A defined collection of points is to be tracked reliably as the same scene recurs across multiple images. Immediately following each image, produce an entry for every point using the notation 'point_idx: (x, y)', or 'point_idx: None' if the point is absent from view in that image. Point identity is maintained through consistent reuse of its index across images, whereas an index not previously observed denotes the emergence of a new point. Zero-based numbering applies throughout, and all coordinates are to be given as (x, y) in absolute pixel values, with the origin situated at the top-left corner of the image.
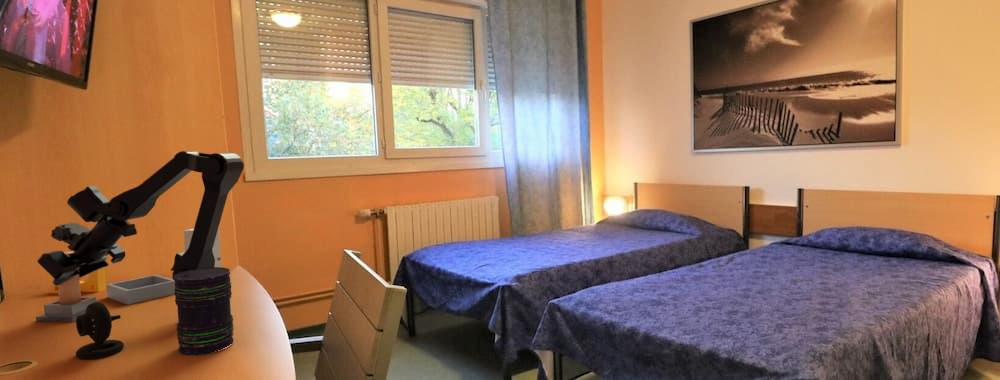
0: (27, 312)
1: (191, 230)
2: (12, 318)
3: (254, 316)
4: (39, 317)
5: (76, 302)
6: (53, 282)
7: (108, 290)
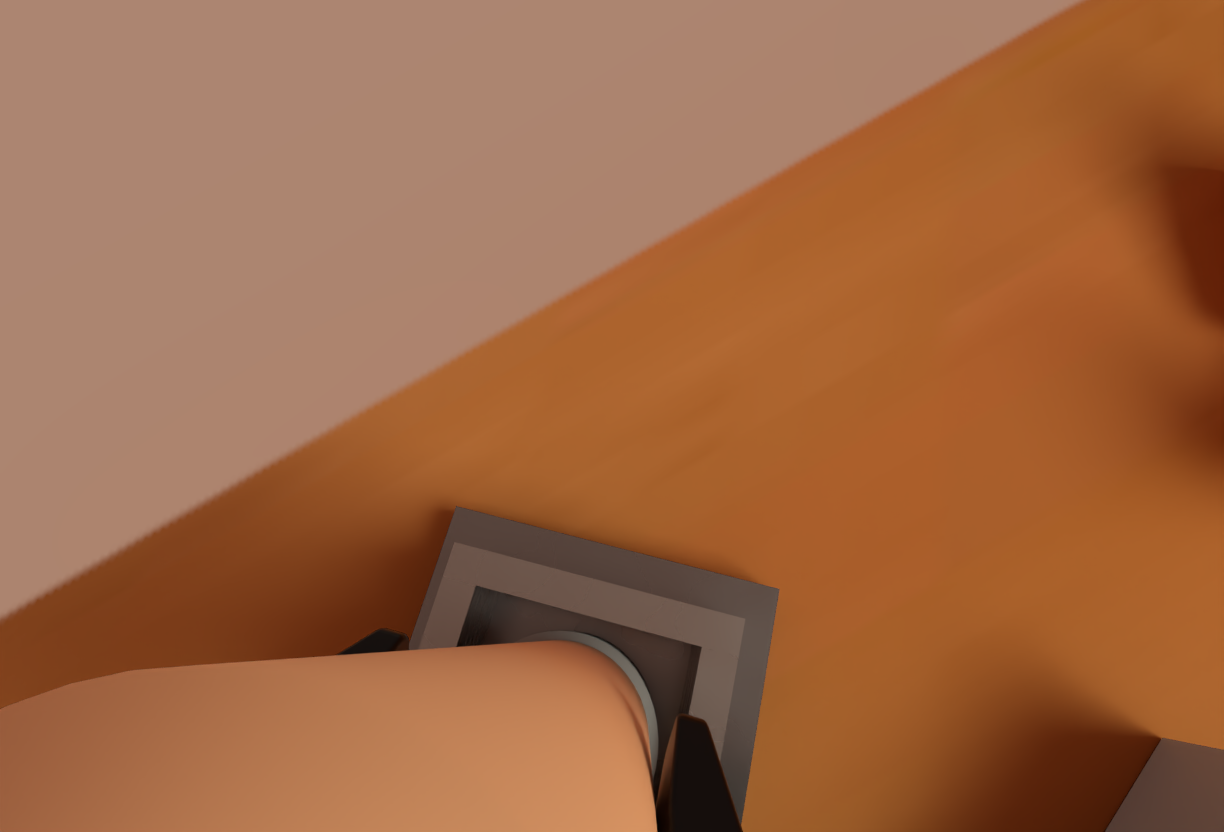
0: (722, 310)
1: None
2: (588, 303)
3: None
4: (448, 537)
5: None
6: (365, 643)
7: (1212, 792)
